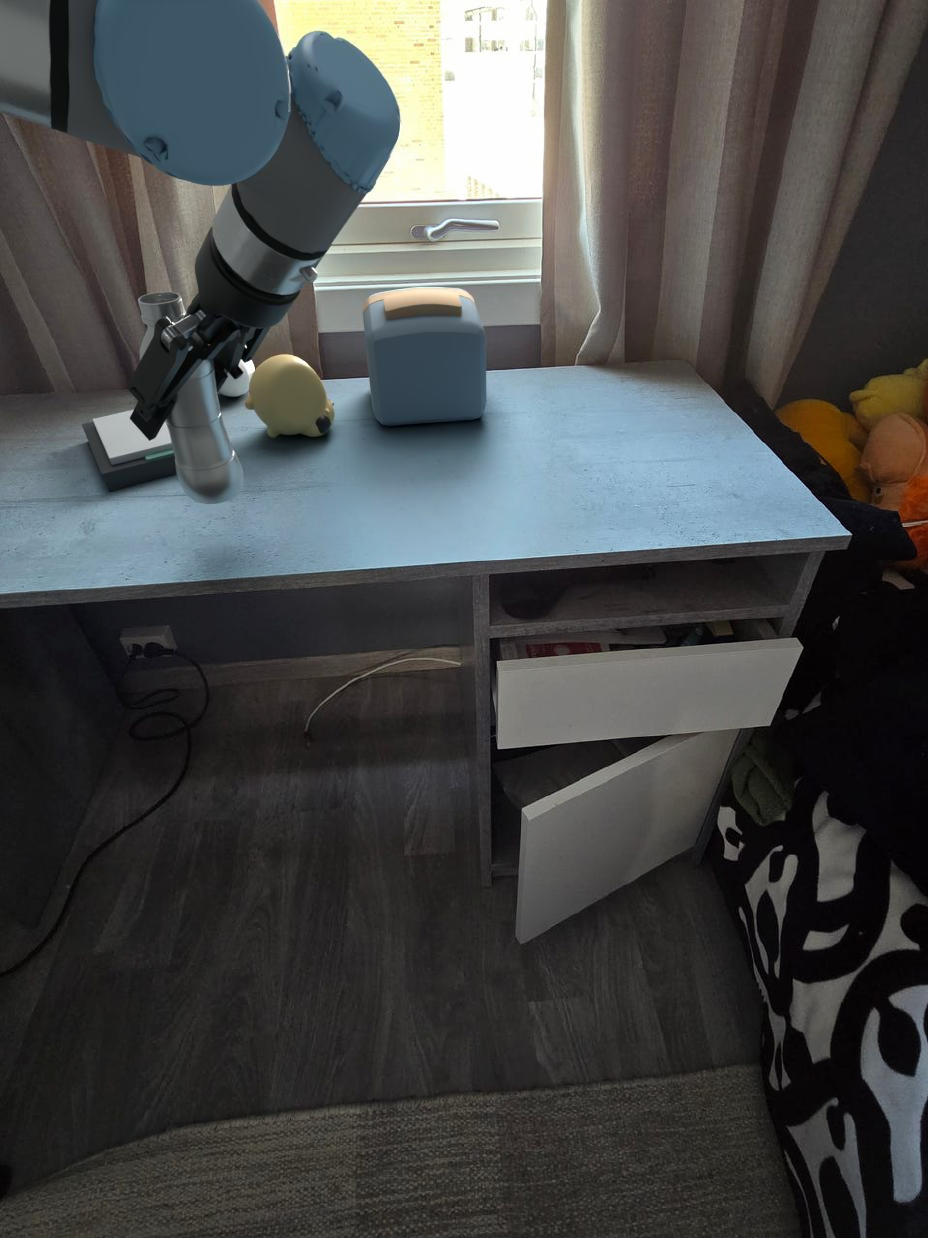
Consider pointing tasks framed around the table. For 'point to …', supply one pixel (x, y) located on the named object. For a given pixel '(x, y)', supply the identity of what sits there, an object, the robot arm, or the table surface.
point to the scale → (128, 451)
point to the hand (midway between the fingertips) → (169, 414)
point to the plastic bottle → (195, 419)
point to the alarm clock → (425, 355)
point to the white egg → (238, 381)
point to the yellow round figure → (290, 397)
